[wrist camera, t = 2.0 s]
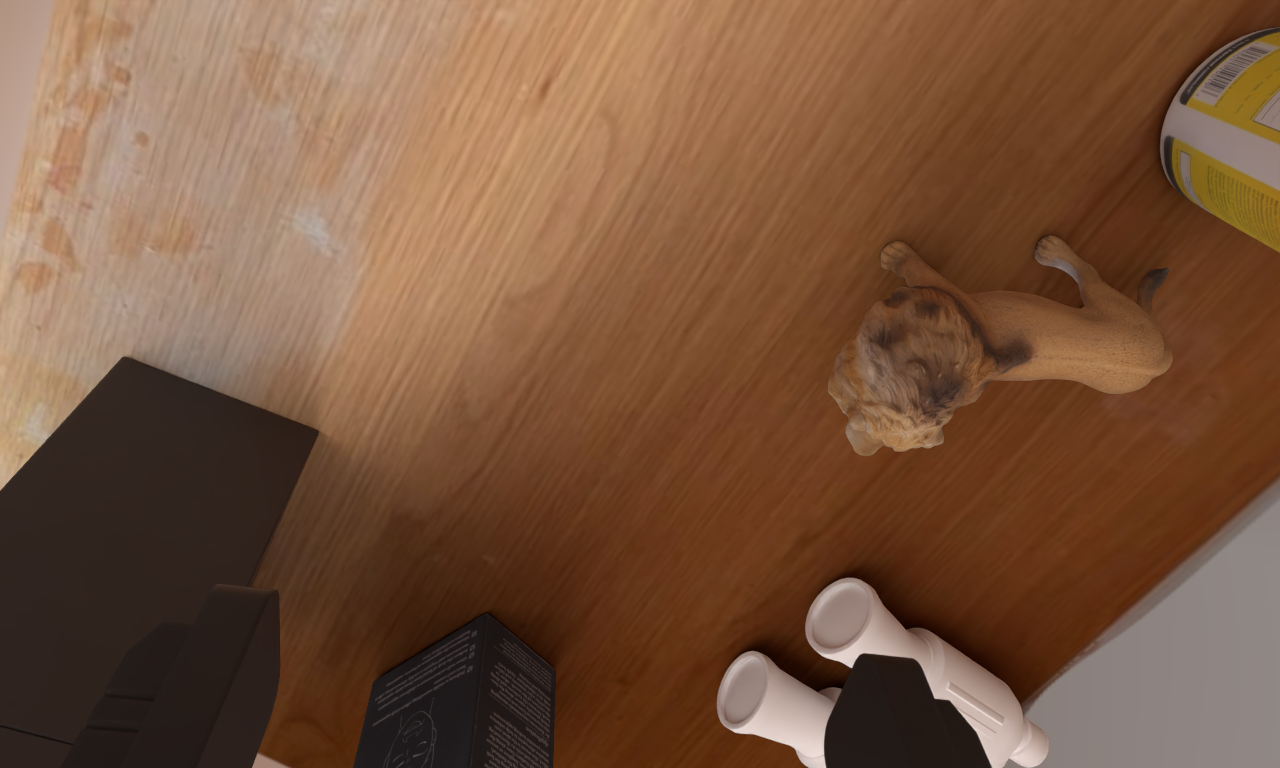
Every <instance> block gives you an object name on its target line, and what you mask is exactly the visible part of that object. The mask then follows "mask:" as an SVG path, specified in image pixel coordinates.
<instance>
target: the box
mask: <svg viewBox="0 0 1280 768" xmlns="http://www.w3.org/2000/svg"><path fill="white" fill-rule="evenodd" d="M555 688H556V672H555V670H554V669H553V667H551V666H550V665H549V664H548V663H547V662H546V661H545V660H543V659H542V658H541V657H539V656H538V655H537V654H536V653H535V652H533V651H532V650H531V649H530V648H529V647H527V646H526V645H525V644H524V643H523V642H521V641H520V640H519V639H518V638H517V637H516V636H514V635H513V634H512V633H511V632H510V631H509V630H507V629H506V628H505V627H503V626H502V625H501V624H500V623H499V622H498V621H496V620H495V619H494V618H493V617H491V616H490V615H488V614H484V615H482V616H480V617H479V618H477V619H476V620H474V621H472V622H471V623H469V624H468V625H466V626H464V627H463V628H461V629H459V630H458V631H456V632H454V633H452V634H451V635H449V636H448V637H446V638H444V639H443V640H441V641H439V642H438V643H436V644H435V645H433V646H431V647H430V648H428V649H426V650H424V651H423V652H421V653H420V654H418V655H416V656H415V657H413V658H411V659H410V660H408V661H406V662H405V663H403V664H401V665H400V666H398V667H397V668H395V669H393V670H392V671H390V672H388V673H387V674H385V675H383V676H382V677H380V678H378V679H377V680H375V681H374V682H373V685H372V690H371V694H370V699H369V703H368V707H367V711H366V716H365V720H364V724H363V728H362V732H361V737H360V741H359V745H358V750H357V754H356V757H355V762H354V766H353V768H553V751H554V720H555Z"/></svg>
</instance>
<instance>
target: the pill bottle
mask: <svg viewBox="0 0 1280 768" xmlns="http://www.w3.org/2000/svg"><path fill="white" fill-rule="evenodd" d="M1160 155H1161V161H1162V165H1163V169H1164V172H1165V174H1166V176H1167V178H1168V180H1169V181H1170V183H1171V184H1172V186H1173V187H1174V188H1175V189H1176V190H1177V191H1178V192H1179V193H1180V194H1181V195H1182V196H1183V197H1185V198H1186V199H1188V200H1189V201H1191V202H1193V203H1194V204H1196V205H1197V206H1199V207H1201V208H1203V209H1205V210H1206V211H1208V212H1210V213H1211V214H1213V215H1215V216H1217V217H1218V218H1220V219H1222V220H1223V221H1225V222H1227V223H1229V224H1230V225H1232V226H1234V227H1236V228H1237V229H1239V230H1241V231H1242V232H1244V233H1246V234H1248V235H1250V236H1251V237H1253V238H1255V239H1257V240H1259V241H1260V242H1262V243H1264V244H1266V245H1267V246H1269V247H1271V248H1273V249H1274V250H1276V251H1278V252H1279V253H1280V27H1277V28H1269V29H1265V30H1260V31H1256V32H1253V33H1250V34H1248V35H1245V36H1242V37H1240V38H1238V39H1236V40H1234V41H1232V42H1230V43H1229V44H1227V45H1225V46H1224V47H1222V48H1220V49H1219V50H1218V51H1216V52H1215V53H1213V54H1212V55H1211V56H1210V57H1209V58H1207V59H1206V60H1205V61H1204V62H1203V63H1202V64H1201V65H1200V66H1198V67H1197V68H1196V69H1195V71H1194V72H1193V73H1192V74H1191V75H1190V76H1189V77H1188V78H1187V79H1186V81H1185V82H1184V84H1183V85H1182V86H1181V88H1180V89H1179V91H1178V92H1177V94H1176V96H1175V97H1174V99H1173V101H1172V103H1171V105H1170V107H1169V109H1168V111H1167V114H1166V117H1165V120H1164V123H1163V127H1162V132H1161V139H1160Z"/></svg>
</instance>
